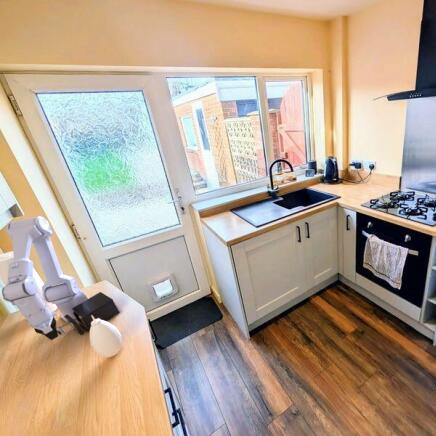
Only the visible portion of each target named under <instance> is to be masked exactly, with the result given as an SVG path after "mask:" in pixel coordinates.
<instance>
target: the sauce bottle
mask: <svg viewBox="0 0 436 436" xmlns="http://www.w3.org/2000/svg"><path fill="white" fill-rule="evenodd" d="M92 318H93V321H92V322H91V328H90V330H89V343H90V345H91V348H92V349H93V351H94V352H95V353H96V354H97V355H98V356H100V357H103V358H111V357H114V356H115V355H117V354H118V353H119V352H120V351H121V349H122V347H123V338H122V337H123V336H122V335H121V332H120V331H119V329H118V328H117V327H116V326H115V325H114V324H112V323H111V322H109V321H104V320H100V319H95V318H94V317H93V316H92Z"/></svg>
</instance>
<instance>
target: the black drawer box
mask: <svg viewBox="0 0 436 436" xmlns="http://www.w3.org/2000/svg"><path fill="white" fill-rule="evenodd" d="M72 310H73V312H76V313H77V314H78V315H80V316H81V317H82V318H83V319H84V321H85V322H86V324H87V325H88V327H89V329H88V330H89V331H90V328H91V322H92V321H93V318H92V316H93V317H94V318H95V319H100V320H104V321H107V322H109V321H110V320H111V319H113V318H114V317H116V316H117V315H119V314H120V310H119V309H118V307H117V305H116V303H115V301H114V299H113V298H112V297H110V296H108V295H106V294H105V293H104V292H101V291H99V292H97V293H96V294H94V295H92V296H91V297H89V298H88V299H87V300H86V301H84V302H82V303H80V304H79V305H77V306H75V307H74V308H72Z"/></svg>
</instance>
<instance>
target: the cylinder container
mask: <svg viewBox="0 0 436 436" xmlns="http://www.w3.org/2000/svg"><path fill="white" fill-rule="evenodd" d="M12 261H14V251H13V250H11V251H7V252H5V253H2V254H0V280H1V281H2V283H3V284H4V285H5V286H6V285H7V282H8V269H9V264H10V263H11V262H12ZM33 277H34V278H35V281H36V283H37V287H38V288H37V293H38V295H39V296H40V298H41V299H42V301H43V302H44V303H45V305H46V306H47V308H48V309H49V311H50V312H51V313H52V312H54V311H57V309H58V308H57V306H56V305H55V304H52V303H51V302H50V303H48V302H46V301H45V300H44V299H43V295H42V293H43V292H42V286H43V284H44V283H45V282H44V281H43V280H42V279H41V277H40V276H39V274H38V272H37V271H36V270H35V268H34V267H33Z"/></svg>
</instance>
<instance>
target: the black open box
mask: <svg viewBox="0 0 436 436" xmlns="http://www.w3.org/2000/svg"><path fill="white" fill-rule="evenodd" d="M73 315H74V316H75V318H76V319H73V318H71V317H70V316H69V315H68V314H67V315H65V316H64V317H65V319H66V320H67V322H66V321H65V323H63V324H61V325H60V326H56V329H57V332H58V335H60V337H65V336H66V334H67V333H68V332H70V331H72V330H74V331H75V332H76V333H77V334H78V335H80V336H83V335H84V334H85V332H84V330H83V328H84V329H86V330H89V327H88V325H87V324H86V322H85V321H84V319H83V318H81V319H80V318H79V315H78V314H77V313H76V312H73ZM67 325H68V326H69V328H68V329H66V330H65V331H64V330H63V328H64V327H65V326H67ZM81 326H82V327H83V328H82V327H81Z"/></svg>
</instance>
